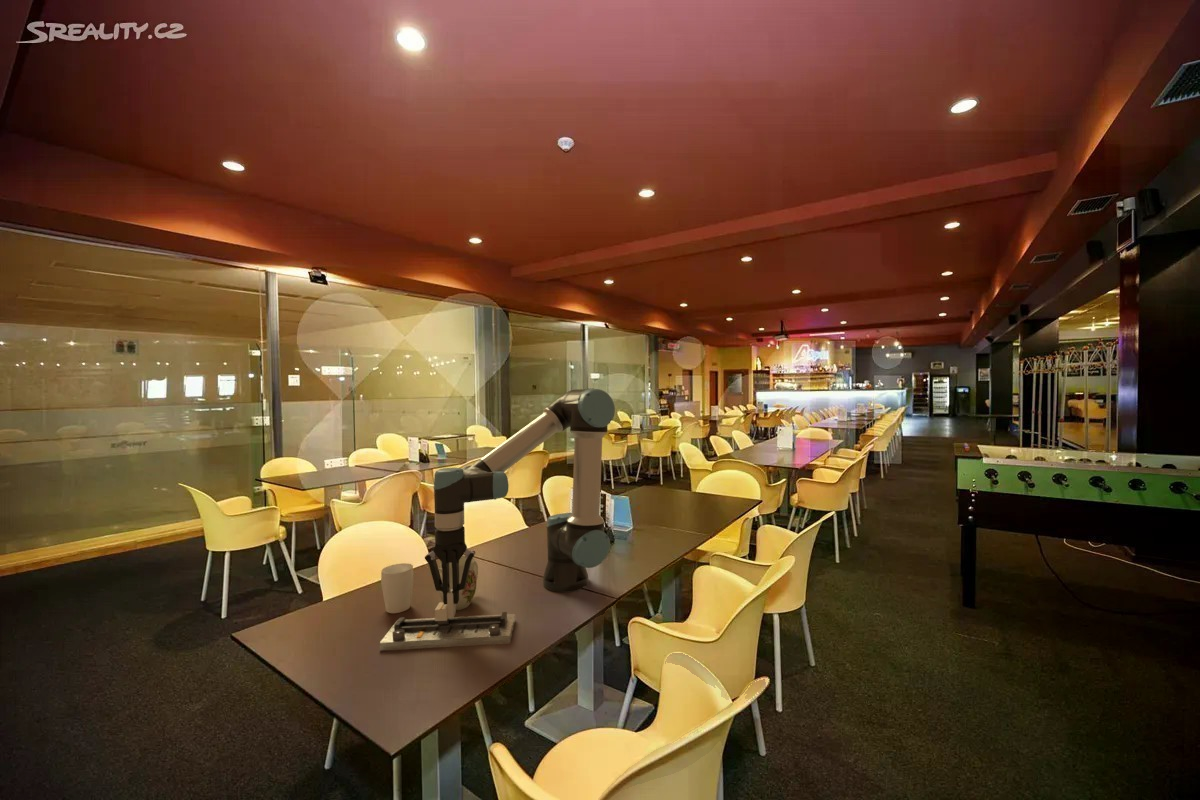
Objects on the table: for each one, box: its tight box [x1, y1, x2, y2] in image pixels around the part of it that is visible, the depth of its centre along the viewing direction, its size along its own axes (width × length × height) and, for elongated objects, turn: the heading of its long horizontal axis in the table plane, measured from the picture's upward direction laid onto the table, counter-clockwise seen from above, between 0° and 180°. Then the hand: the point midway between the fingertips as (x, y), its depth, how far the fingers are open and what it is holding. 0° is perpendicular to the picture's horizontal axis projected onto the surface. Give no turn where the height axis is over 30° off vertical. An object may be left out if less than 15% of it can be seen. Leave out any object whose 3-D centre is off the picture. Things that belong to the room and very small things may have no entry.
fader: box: [434, 601, 449, 625], centre depth 124 cm, size 3×4×6 cm, turn 4°
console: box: [379, 611, 516, 652], centre depth 123 cm, size 32×12×4 cm, turn 94°
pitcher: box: [438, 555, 479, 611], centre depth 142 cm, size 11×18×14 cm, turn 161°
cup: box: [380, 562, 415, 614], centre depth 140 cm, size 9×9×12 cm
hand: (451, 615), depth 124 cm, fingers closed
